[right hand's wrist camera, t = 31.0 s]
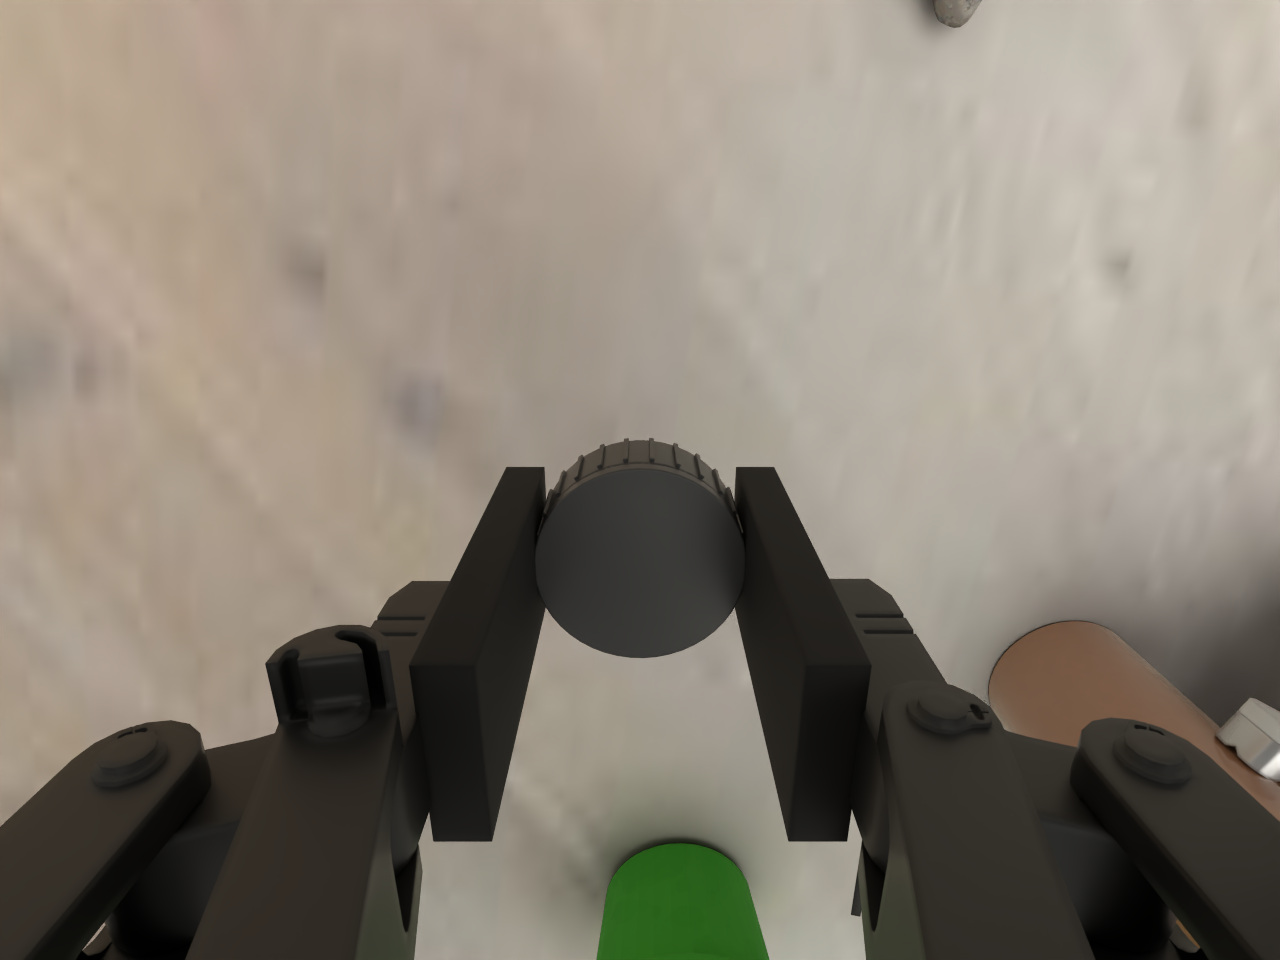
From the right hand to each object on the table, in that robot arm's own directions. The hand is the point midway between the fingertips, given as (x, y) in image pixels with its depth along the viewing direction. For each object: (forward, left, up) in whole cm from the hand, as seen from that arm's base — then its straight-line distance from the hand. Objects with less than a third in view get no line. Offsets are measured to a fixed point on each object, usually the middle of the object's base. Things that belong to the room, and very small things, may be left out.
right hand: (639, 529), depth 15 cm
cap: (0, 0, +1) cm, 1 cm away
